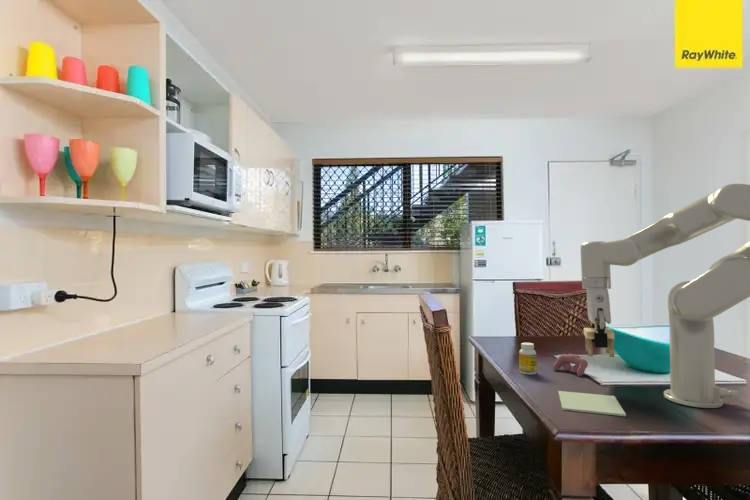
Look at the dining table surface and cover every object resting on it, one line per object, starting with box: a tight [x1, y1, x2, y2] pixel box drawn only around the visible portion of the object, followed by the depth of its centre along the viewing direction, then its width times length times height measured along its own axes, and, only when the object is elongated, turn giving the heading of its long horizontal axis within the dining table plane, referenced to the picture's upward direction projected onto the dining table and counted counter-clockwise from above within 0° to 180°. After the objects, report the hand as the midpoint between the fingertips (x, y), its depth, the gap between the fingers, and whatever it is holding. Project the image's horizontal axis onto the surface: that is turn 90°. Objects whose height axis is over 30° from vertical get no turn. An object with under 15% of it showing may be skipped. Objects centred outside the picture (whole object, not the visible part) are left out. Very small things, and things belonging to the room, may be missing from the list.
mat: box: [557, 390, 627, 417], centre depth 111 cm, size 14×14×1 cm
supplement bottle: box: [518, 342, 538, 376], centre depth 140 cm, size 5×5×10 cm
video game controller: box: [553, 353, 589, 377], centre depth 140 cm, size 10×5×7 cm, turn 35°
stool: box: [583, 327, 615, 358], centre depth 123 cm, size 7×7×7 cm
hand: (598, 344), depth 123 cm, fingers closed on stool, 7 cm apart
